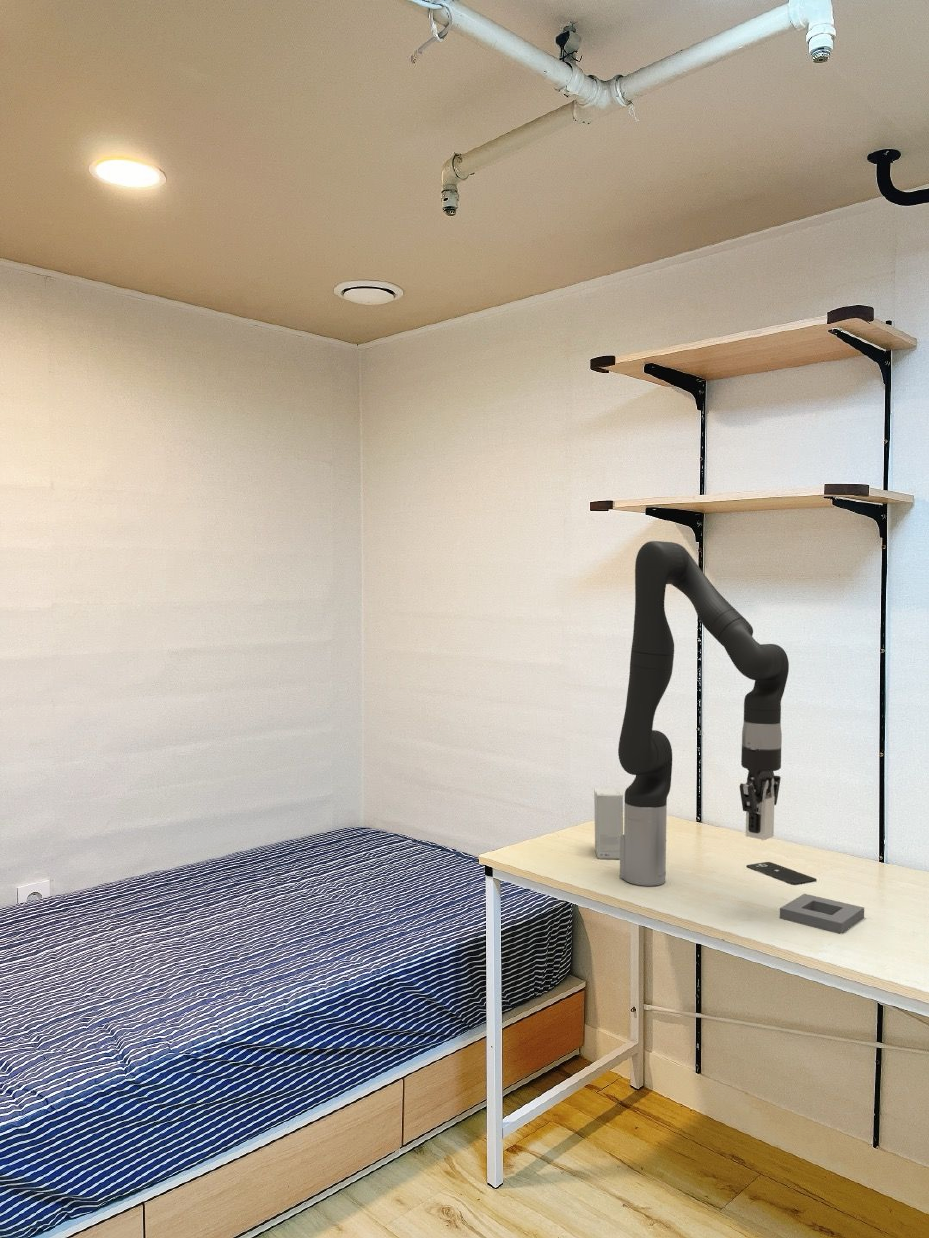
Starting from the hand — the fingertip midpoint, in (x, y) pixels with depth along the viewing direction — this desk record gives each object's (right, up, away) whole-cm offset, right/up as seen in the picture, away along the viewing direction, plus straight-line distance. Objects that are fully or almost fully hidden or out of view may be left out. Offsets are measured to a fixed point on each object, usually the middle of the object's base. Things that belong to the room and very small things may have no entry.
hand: (759, 829), depth 180 cm
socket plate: (+12, -17, -1) cm, 21 cm away
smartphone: (+14, -17, +27) cm, 35 cm away
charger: (0, -1, 0) cm, 1 cm away
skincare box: (-24, -16, +41) cm, 50 cm away
